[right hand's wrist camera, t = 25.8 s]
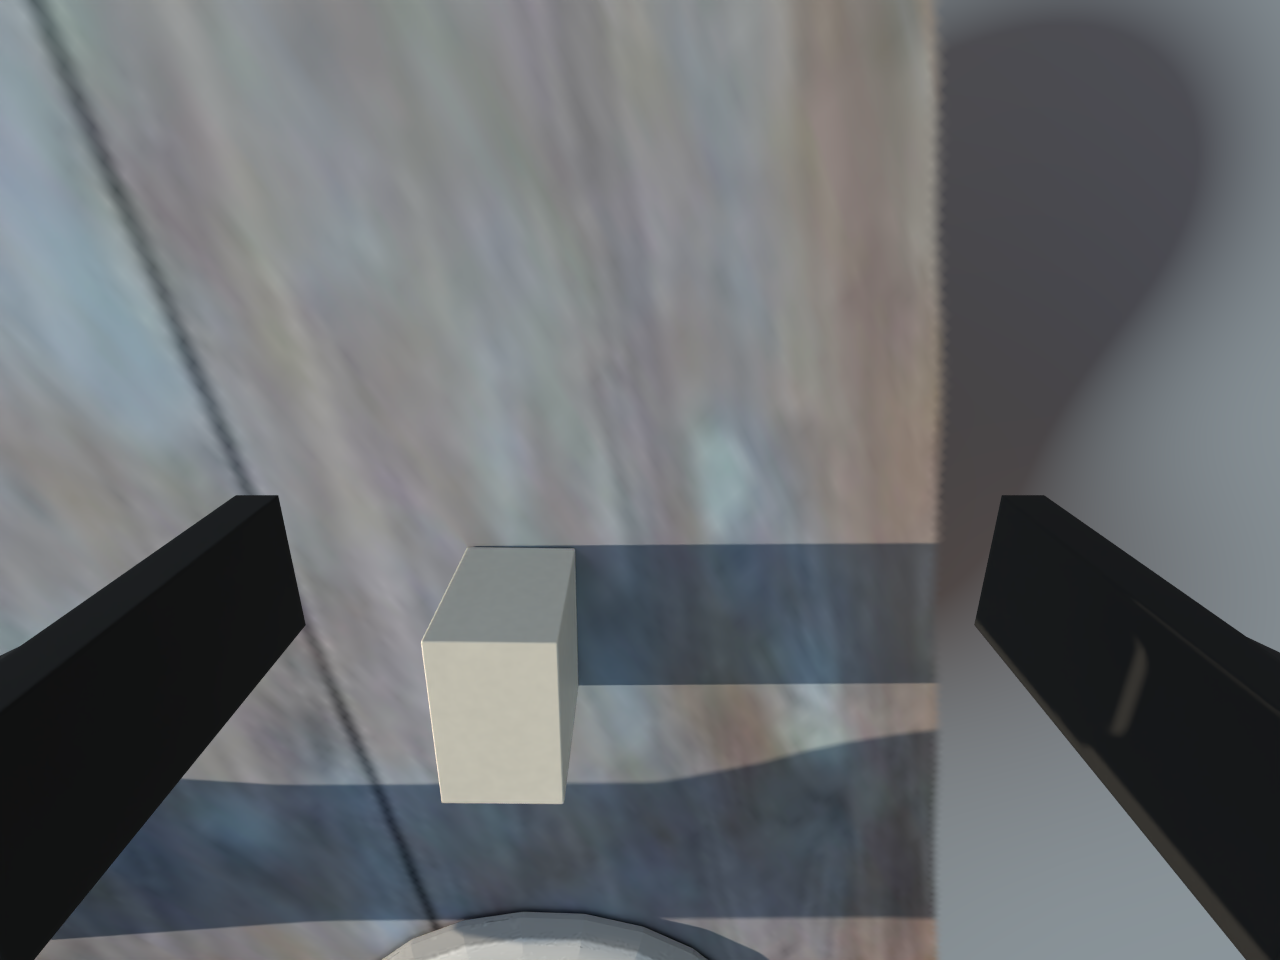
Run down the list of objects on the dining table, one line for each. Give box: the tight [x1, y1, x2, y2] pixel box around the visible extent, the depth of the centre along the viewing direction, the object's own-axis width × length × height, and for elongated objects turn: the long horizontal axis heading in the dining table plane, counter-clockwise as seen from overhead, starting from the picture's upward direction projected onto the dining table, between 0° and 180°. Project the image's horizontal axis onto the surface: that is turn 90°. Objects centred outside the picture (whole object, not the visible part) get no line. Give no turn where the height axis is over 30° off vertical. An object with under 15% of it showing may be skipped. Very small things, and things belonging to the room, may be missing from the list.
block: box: [421, 547, 578, 804], centre depth 31 cm, size 5×8×8 cm, turn 179°
